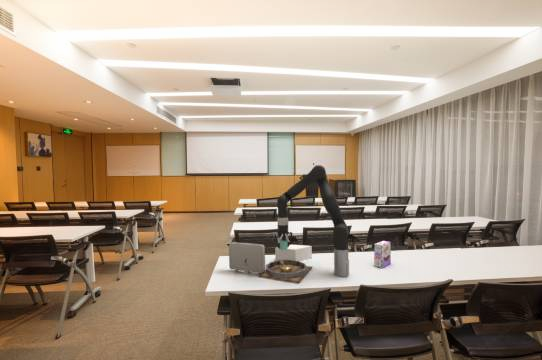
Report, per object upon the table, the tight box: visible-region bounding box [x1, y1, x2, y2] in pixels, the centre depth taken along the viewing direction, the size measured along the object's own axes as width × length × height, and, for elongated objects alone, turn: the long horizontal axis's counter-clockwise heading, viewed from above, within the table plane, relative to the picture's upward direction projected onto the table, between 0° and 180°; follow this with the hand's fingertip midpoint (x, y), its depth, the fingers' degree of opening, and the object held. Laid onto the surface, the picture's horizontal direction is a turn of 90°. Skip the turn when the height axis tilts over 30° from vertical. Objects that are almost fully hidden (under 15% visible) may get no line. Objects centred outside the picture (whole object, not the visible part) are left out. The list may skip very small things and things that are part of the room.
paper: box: [274, 244, 313, 262], centre depth 212 cm, size 14×29×10 cm, turn 96°
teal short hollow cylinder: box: [279, 239, 288, 250], centre depth 189 cm, size 6×6×5 cm
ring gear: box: [265, 260, 308, 279], centre depth 184 cm, size 27×27×3 cm
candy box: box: [373, 240, 392, 269], centre depth 195 cm, size 14×6×16 cm, turn 131°
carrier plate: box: [258, 261, 313, 285], centre depth 184 cm, size 28×28×6 cm
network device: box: [228, 241, 266, 277], centre depth 186 cm, size 26×9×20 cm, turn 68°
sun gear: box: [280, 265, 293, 273], centre depth 184 cm, size 9×9×2 cm
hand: (283, 247), depth 189 cm, fingers closed on teal short hollow cylinder, 6 cm apart
